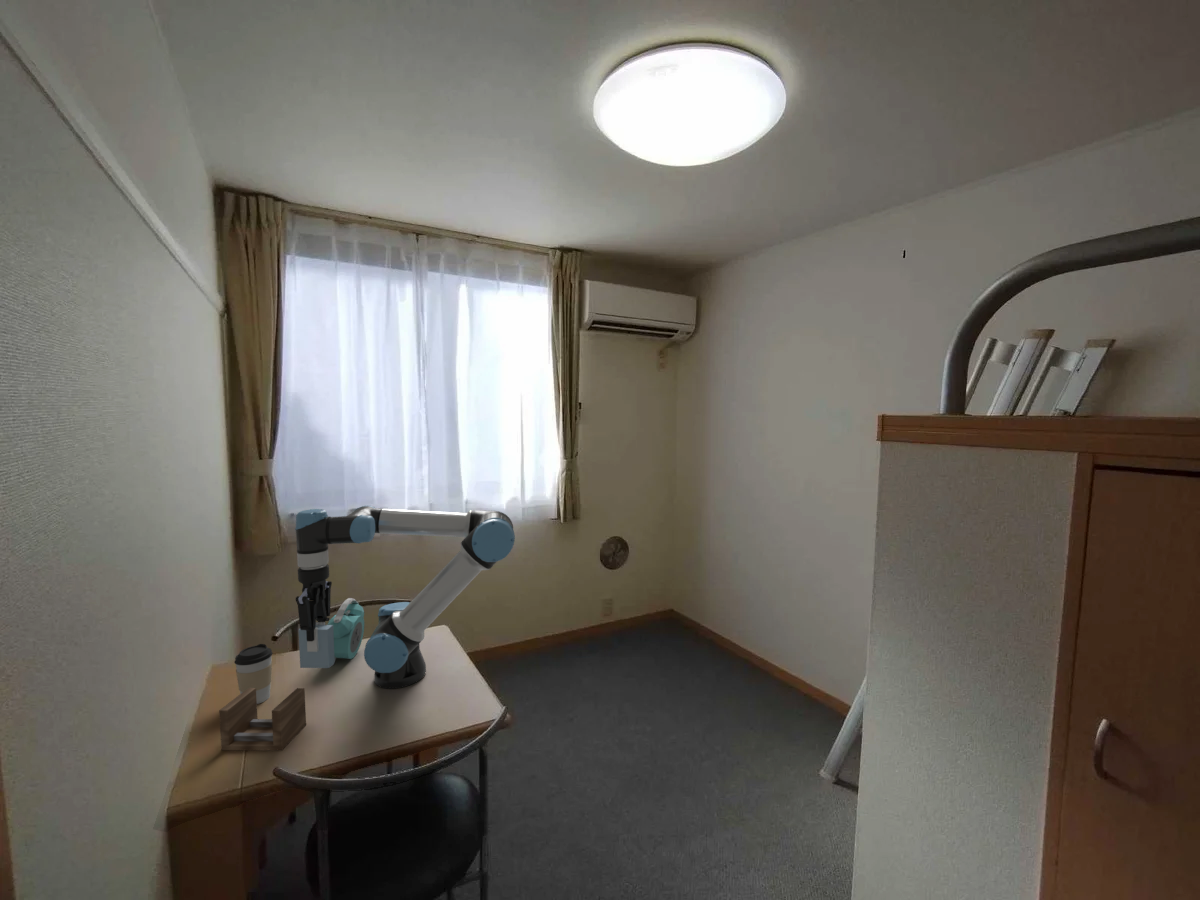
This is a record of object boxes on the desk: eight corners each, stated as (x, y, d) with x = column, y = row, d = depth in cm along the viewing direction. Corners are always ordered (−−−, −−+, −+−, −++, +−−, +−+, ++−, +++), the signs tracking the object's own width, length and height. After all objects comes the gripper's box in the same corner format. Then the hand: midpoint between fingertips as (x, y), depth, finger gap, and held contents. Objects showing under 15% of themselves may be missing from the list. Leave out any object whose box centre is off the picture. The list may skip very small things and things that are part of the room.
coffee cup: (255, 709, 139) (252, 658, 138) (228, 706, 141) (225, 654, 140) (282, 692, 148) (279, 643, 147) (256, 688, 150) (254, 640, 148)
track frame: (306, 725, 132) (304, 688, 131) (281, 750, 122) (279, 710, 121) (250, 724, 132) (248, 687, 131) (221, 750, 122) (219, 710, 121)
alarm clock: (341, 645, 177) (339, 591, 176) (369, 644, 178) (367, 590, 177) (318, 670, 160) (315, 610, 159) (349, 669, 161) (346, 609, 159)
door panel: (334, 662, 141) (333, 625, 140) (328, 668, 138) (327, 629, 137) (306, 662, 141) (305, 624, 140) (300, 667, 138) (298, 629, 137)
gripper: (316, 557, 145) (320, 635, 147) (280, 575, 129) (285, 662, 131) (342, 557, 145) (345, 635, 147) (309, 575, 129) (313, 662, 131)
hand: (316, 647), depth 139 cm, fingers closed on door panel, 3 cm apart
